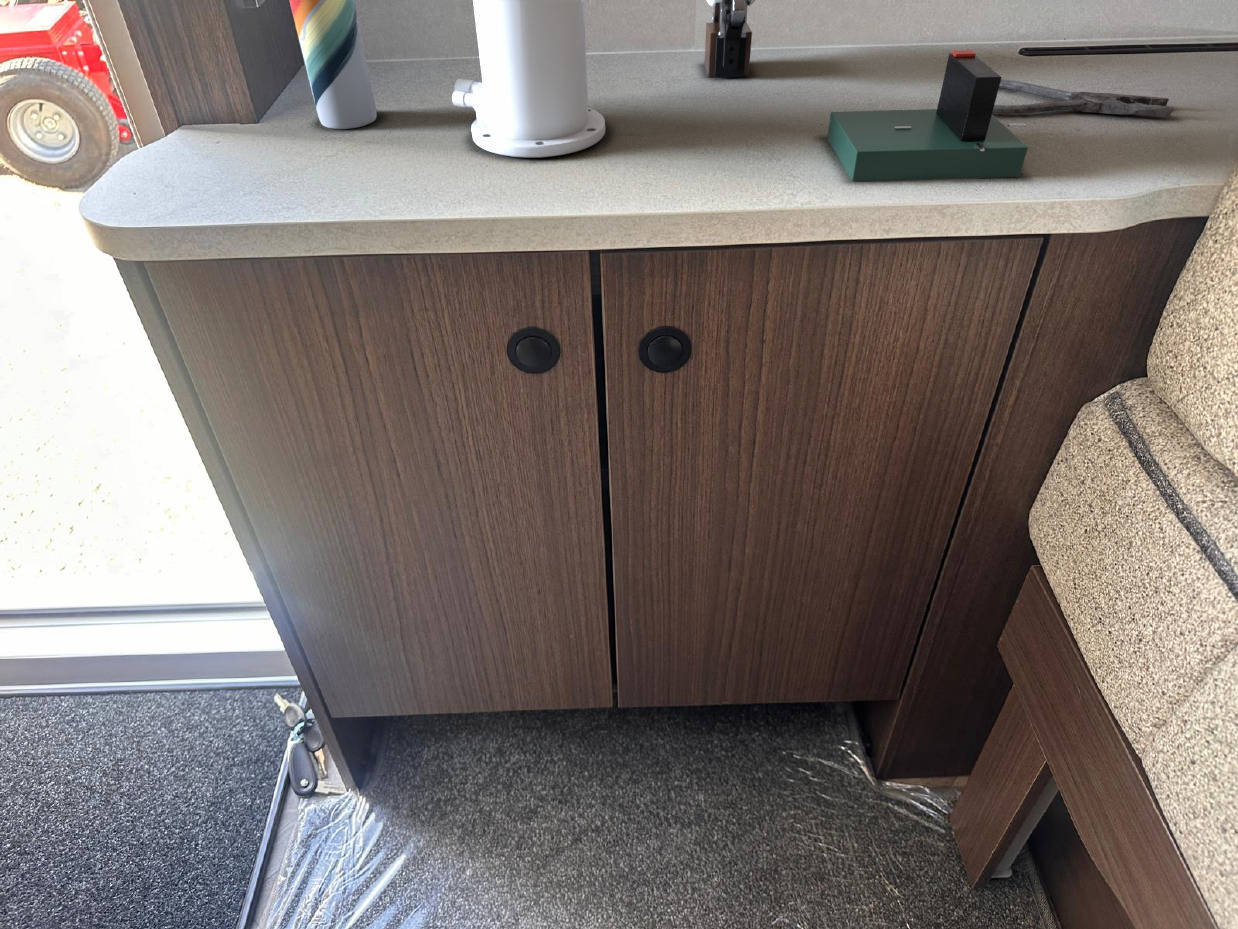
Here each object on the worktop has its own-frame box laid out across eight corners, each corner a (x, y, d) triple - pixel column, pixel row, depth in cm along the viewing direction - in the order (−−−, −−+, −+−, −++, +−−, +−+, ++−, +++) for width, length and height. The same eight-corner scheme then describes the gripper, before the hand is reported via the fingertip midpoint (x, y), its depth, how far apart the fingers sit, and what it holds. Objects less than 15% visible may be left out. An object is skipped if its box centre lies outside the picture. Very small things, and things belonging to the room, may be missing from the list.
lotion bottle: (316, 116, 85) (256, -124, 72) (372, 107, 86) (324, -128, 74) (324, 133, 81) (263, -117, 68) (383, 124, 82) (334, -122, 70)
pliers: (943, 75, 88) (1143, 77, 86) (941, 84, 89) (1140, 86, 86) (960, 105, 81) (1180, 108, 79) (958, 114, 81) (1176, 117, 79)
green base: (853, 184, 69) (859, 152, 67) (825, 137, 78) (829, 107, 76) (1041, 179, 69) (1051, 147, 67) (993, 132, 78) (1001, 102, 76)
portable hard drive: (985, 140, 69) (1002, 73, 66) (960, 141, 69) (977, 74, 66) (958, 113, 74) (973, 49, 71) (935, 113, 74) (949, 50, 71)
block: (708, 77, 92) (710, 32, 89) (704, 65, 96) (706, 22, 93) (748, 76, 92) (752, 31, 89) (743, 64, 96) (746, 21, 93)
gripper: (692, -137, 89) (686, 49, 100) (708, -118, 76) (699, 93, 88) (763, -139, 89) (749, 48, 100) (791, -120, 76) (771, 91, 88)
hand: (726, 67), depth 94 cm, fingers closed on block, 4 cm apart
